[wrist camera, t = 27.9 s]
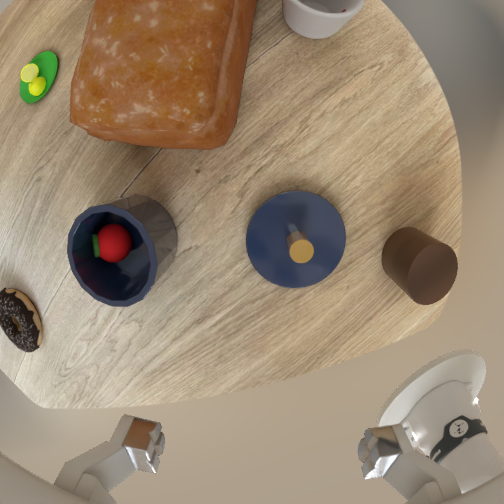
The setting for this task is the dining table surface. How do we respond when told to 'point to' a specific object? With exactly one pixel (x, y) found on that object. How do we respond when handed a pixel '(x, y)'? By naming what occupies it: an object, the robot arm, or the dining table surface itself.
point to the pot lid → (295, 239)
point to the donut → (20, 320)
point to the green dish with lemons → (38, 76)
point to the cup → (319, 16)
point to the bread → (162, 71)
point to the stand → (420, 265)
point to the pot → (139, 259)
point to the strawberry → (112, 243)
